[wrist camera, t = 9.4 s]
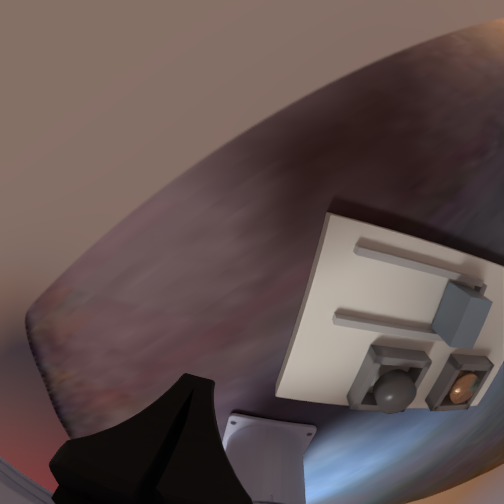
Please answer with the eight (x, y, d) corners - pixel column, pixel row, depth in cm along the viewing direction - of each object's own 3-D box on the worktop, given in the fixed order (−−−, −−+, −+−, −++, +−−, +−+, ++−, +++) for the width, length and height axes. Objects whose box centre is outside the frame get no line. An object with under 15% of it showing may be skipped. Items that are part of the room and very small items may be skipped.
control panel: (471, 397, 22) (483, 414, 19) (275, 384, 22) (275, 410, 19) (528, 275, 18) (547, 285, 15) (326, 211, 19) (336, 217, 16)
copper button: (460, 393, 20) (467, 403, 18) (438, 393, 20) (445, 404, 18) (476, 366, 19) (484, 376, 17) (454, 365, 19) (463, 376, 17)
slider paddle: (453, 330, 18) (472, 349, 15) (431, 327, 18) (449, 346, 15) (470, 287, 17) (492, 301, 14) (448, 281, 17) (471, 296, 14)
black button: (398, 400, 19) (404, 413, 17) (366, 399, 19) (371, 413, 17) (415, 370, 18) (423, 383, 16) (382, 367, 18) (389, 381, 16)
